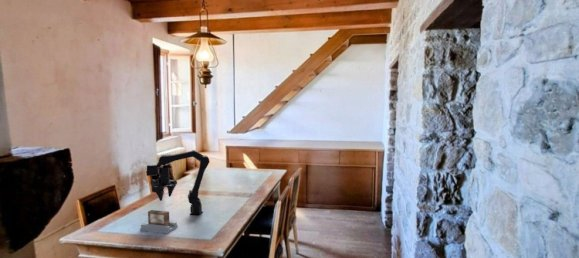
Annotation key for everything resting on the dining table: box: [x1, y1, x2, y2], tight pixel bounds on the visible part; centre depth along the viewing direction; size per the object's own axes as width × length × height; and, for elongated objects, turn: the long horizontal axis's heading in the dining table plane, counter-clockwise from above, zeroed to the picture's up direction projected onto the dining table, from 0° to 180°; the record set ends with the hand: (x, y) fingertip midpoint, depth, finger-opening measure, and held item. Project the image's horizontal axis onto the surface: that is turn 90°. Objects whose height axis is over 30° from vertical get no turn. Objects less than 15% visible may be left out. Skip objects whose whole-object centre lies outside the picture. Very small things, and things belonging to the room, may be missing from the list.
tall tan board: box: [147, 209, 170, 226], centre depth 185 cm, size 12×3×9 cm, turn 76°
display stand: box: [139, 220, 179, 234], centre depth 185 cm, size 18×10×3 cm, turn 76°
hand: (165, 198), depth 203 cm, fingers open, 9 cm apart
